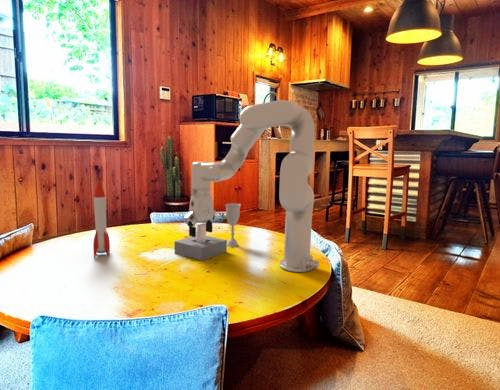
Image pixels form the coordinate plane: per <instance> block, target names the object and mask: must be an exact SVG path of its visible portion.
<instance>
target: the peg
mask: <svg viewBox="0 0 500 390" xmlns="http://www.w3.org/2000/svg"><path fill="white" fill-rule="evenodd" d="M195 227H196V242H197V243H201V244H202V243H205V242H206V236H207V232H206V222H197V223H196V225H195Z"/></svg>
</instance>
